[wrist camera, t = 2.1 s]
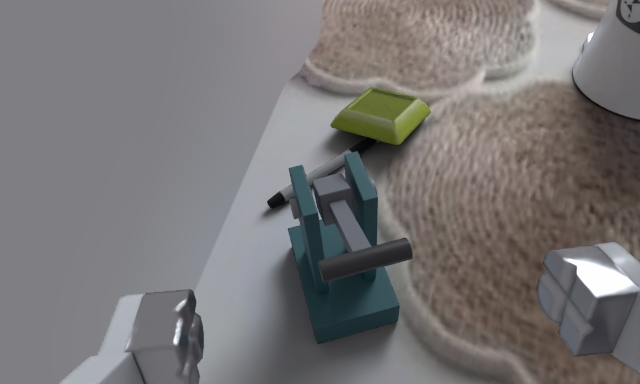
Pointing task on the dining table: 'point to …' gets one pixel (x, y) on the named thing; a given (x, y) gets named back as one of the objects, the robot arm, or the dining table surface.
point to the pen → (322, 171)
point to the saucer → (382, 115)
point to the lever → (351, 233)
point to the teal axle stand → (325, 242)
